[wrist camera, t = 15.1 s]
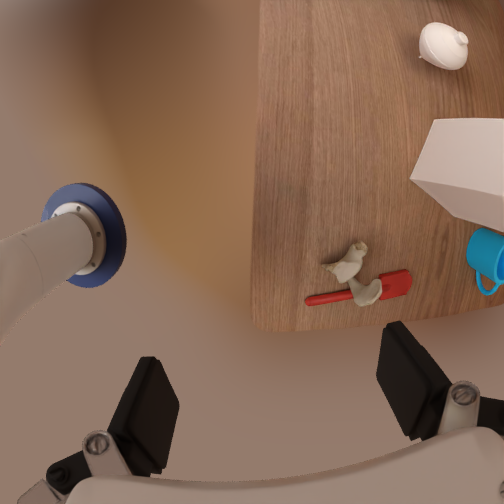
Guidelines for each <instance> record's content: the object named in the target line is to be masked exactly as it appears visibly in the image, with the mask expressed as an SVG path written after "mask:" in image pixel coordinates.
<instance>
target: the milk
mask: <svg viewBox="0 0 504 504" xmlns="http://www.w3.org/2000/svg"><path fill="white" fill-rule="evenodd" d="M409 179H410V180H411V181H413V182H414V183H415V184H417V185H418V186H419V187H420V188H421V189H423V190H424V191H425V192H426V193H427V194H429V195H430V196H431V197H432V198H433V199H435V200H436V201H437V202H438V203H439V204H440V205H441V206H443V207H444V208H445V209H446V210H447V211H448V212H449V213H450V214H451V215H452V216H454V217H456V218H460V219H463V220H467V221H470V222H473V223H477V224H480V225H483V226H486V227H489V228H493V229H496V230H499V231H502V232H504V119H495V118H455V119H434V121H433V124H432V126H431V129H430V131H429V134H428V136H427V139H426V141H425V144H424V146H423V149H422V151H421V153H420V156H419V158H418V160H417V163H416V165H415V167H414V169H413V172H412V174H411V176H410V178H409Z"/></svg>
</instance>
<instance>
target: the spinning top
mask: <svg viewBox="0 0 504 504" xmlns="http://www.w3.org/2000/svg"><path fill="white" fill-rule="evenodd" d="M466 44H468V39H467V37H466V35H465V34H464V33H462V32H458V31H456V30H455V29H454V28H452V27H450V26H448V25H446V24H443V23H437V22H435V23H430V24H428V25H426V26H425V27H424V28H423V30H422V32H421V35H420V40H419V49H420V55H421V56H419V58H423V59H424V60H426V61H428V62H429V63H431V64H433V65H435V66H437V67H440V68H443V69H447V70H457V69H459V68H461V67H462V66H463V65H464V64H465V62H466V60H467V54H468V49H467V45H466Z"/></svg>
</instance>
